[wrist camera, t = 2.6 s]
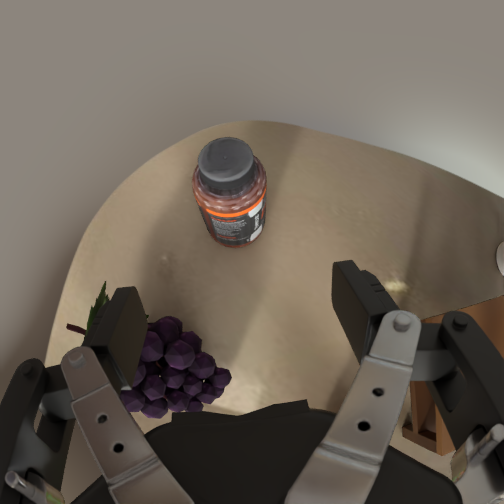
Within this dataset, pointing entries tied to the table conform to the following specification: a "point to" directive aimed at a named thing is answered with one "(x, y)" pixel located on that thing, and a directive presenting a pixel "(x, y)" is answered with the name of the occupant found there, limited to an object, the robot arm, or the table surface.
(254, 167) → the supplement bottle
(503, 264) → the drinking glass
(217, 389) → the fruit
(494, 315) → the shelf stand
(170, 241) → the table surface
